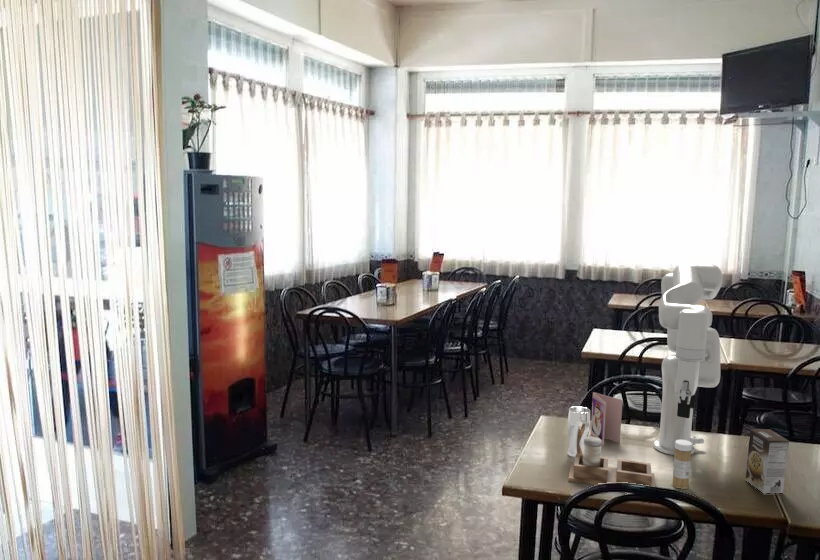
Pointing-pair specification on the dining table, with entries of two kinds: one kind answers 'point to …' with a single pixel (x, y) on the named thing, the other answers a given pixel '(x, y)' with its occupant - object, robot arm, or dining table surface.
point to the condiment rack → (597, 471)
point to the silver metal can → (578, 429)
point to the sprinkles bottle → (682, 464)
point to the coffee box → (767, 460)
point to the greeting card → (606, 417)
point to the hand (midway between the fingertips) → (685, 412)
